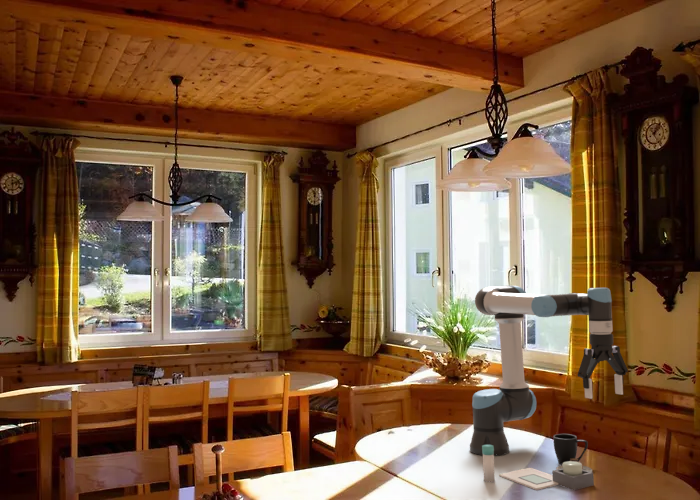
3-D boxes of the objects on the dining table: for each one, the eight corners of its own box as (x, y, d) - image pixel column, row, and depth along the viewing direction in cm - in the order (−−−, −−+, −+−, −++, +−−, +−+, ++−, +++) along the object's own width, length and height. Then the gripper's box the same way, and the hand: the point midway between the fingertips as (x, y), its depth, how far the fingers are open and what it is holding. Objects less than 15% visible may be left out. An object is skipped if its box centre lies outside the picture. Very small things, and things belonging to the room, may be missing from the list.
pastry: (588, 479, 218) (587, 465, 218) (552, 475, 224) (551, 461, 224) (595, 470, 228) (595, 456, 228) (561, 465, 234) (560, 453, 234)
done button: (559, 475, 213) (558, 463, 214) (572, 472, 216) (571, 460, 216) (573, 480, 208) (572, 467, 208) (586, 477, 211) (585, 464, 211)
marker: (481, 480, 220) (479, 445, 220) (490, 478, 221) (488, 444, 222) (488, 482, 216) (487, 448, 217) (497, 481, 218) (495, 446, 218)
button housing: (552, 482, 214) (552, 470, 214) (572, 478, 218) (572, 466, 218) (573, 490, 206) (573, 477, 206) (593, 485, 210) (593, 472, 210)
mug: (584, 468, 228) (583, 441, 228) (551, 464, 235) (549, 437, 236) (591, 463, 235) (590, 436, 235) (559, 458, 242) (557, 432, 242)
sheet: (499, 475, 223) (499, 473, 223) (530, 469, 230) (530, 467, 230) (536, 490, 207) (536, 487, 207) (568, 482, 214) (568, 480, 214)
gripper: (580, 336, 212) (583, 401, 211) (636, 331, 222) (640, 393, 221) (564, 334, 219) (567, 398, 218) (619, 330, 229) (622, 390, 228)
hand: (604, 396), depth 219 cm, fingers open, 13 cm apart
